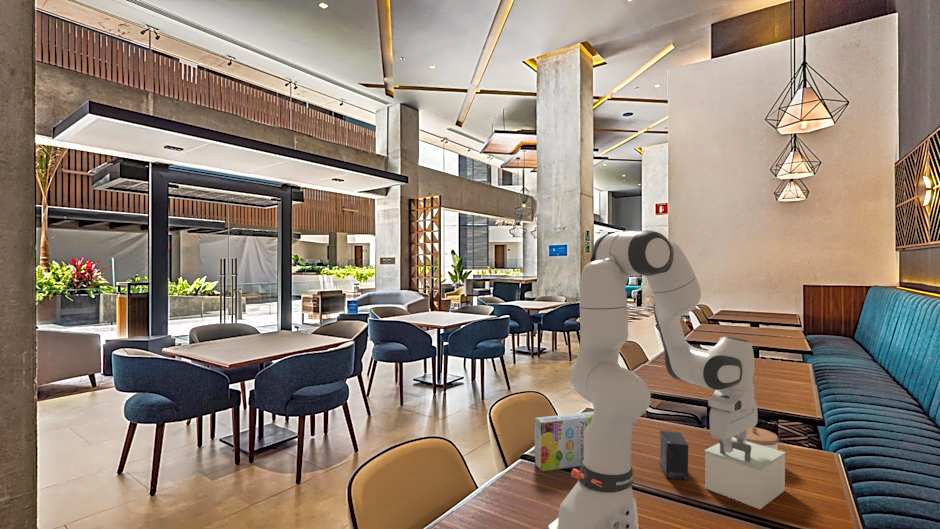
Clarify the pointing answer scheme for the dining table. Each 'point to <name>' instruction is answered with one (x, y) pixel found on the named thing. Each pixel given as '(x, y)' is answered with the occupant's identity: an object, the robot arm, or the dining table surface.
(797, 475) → the dining table surface
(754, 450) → the lid
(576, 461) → the snack box
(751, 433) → the lidded bowl
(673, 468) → the small box
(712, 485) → the carton
